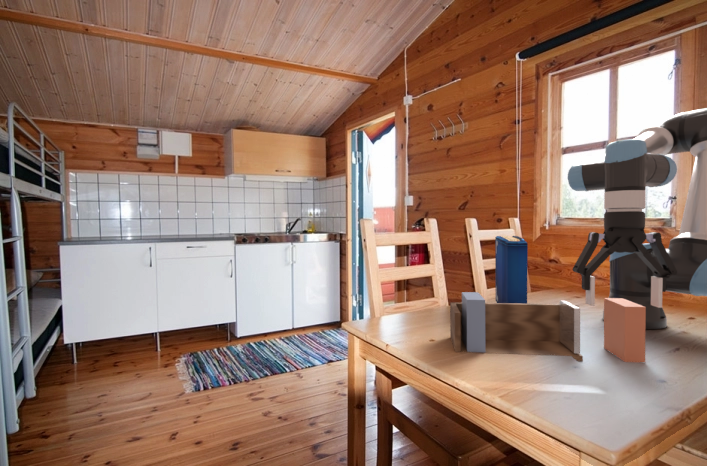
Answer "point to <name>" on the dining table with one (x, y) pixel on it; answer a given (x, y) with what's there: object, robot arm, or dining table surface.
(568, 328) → the bookend
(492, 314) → the shelf
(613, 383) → the dining table surface
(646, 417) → the dining table surface
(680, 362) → the dining table surface
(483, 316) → the book
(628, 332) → the book
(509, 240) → the book
